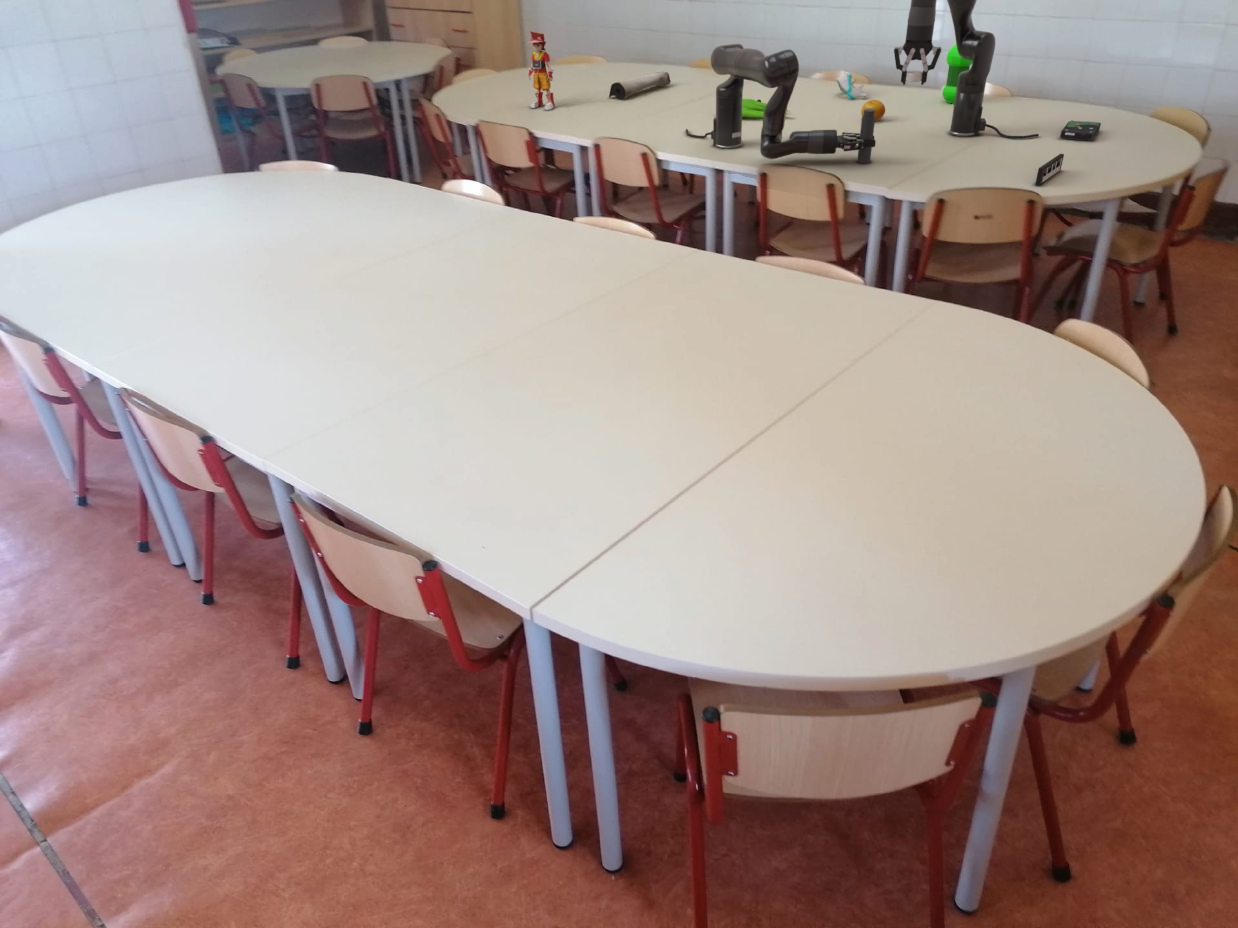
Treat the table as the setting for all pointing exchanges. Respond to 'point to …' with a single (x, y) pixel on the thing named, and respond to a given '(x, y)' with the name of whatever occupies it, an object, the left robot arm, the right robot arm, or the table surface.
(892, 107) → the table surface
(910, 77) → the lid
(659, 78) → the rolled mat
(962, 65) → the green dumbbell
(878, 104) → the fruit
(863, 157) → the dark cylinder
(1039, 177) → the midi keyboard
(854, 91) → the anatomical model
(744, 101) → the toy
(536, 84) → the toy
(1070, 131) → the disk drive
